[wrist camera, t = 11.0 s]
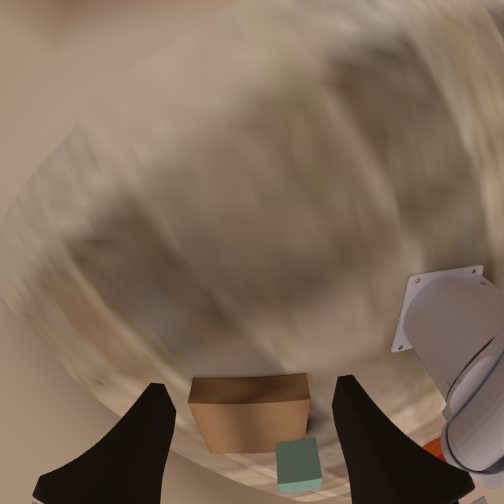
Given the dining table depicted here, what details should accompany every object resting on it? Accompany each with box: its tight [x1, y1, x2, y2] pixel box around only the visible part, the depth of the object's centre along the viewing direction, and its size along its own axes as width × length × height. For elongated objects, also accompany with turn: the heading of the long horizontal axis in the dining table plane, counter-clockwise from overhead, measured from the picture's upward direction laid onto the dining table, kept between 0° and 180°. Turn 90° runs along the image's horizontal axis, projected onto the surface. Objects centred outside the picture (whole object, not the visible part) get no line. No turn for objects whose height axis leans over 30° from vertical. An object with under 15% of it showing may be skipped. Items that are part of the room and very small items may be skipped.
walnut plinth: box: [188, 374, 310, 453], centre depth 23 cm, size 10×10×3 cm
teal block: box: [276, 437, 322, 494], centre depth 20 cm, size 4×4×5 cm
